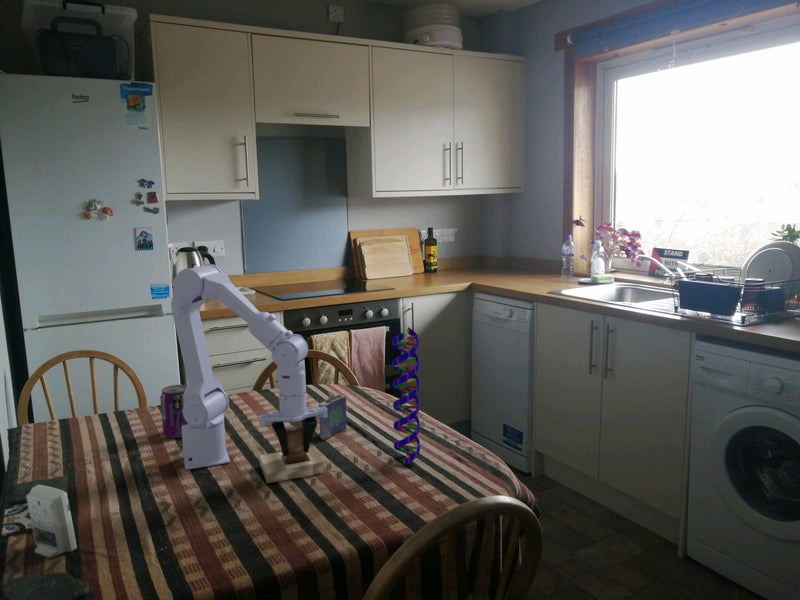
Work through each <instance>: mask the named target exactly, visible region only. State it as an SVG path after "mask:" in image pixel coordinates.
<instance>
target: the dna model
mask: <svg viewBox="0 0 800 600" xmlns="http://www.w3.org/2000/svg"><path fill="white" fill-rule="evenodd" d="M407 335H409V336H407ZM412 339H414V340H415V341H416V342H412V341H411V342H408V341H407V340H412ZM391 344H392V346H393V348H394V349H396V350H398V351H400V352H403V354H400V355H399V356H397V357H395V358H393V360H392V363H391V364H392V367H393V369H395V370H397V371H399V372H401V373H403V374H404V375H402V376H400V377H397V378H396V379H394V380H392V381H393V382H392V388H393V389H394V390H396V391H398V392H400V393H403V394H405V395H404V396H403V397H402V396H401V397H400V398H399V399H396V400H394V401H393V403H392V404H393V405H392V406H393V409H394V410H395V411H398V412H401V413H403V414H404V415H406V416H405V417H403V418H401V419H397V420H395V421H394V423H393V429H394V430H395V431H397V432H400V433H403V434H405V437H404V438H403V439H400V440H398V441H395V442H393V449H394V450H395V451H397V452H400V453H404V454H406V456H405V458H404V460H403V464H404V466H407V465H409V464H411V463H412V462H413V461H414V460H416V458H417V457H418V456H419V454H420V452H421V441H420V438H419V437H418V435H419V433H420V430H421V422H420V418H419V417H418V414H419V412H420V409H421V401H420V399H419V397H418V396H417V395H418V393H419V391H420V387H421V384H420V383H421V382H420V379H419V377H418V376H417V373H418V371H419V369H420V365H421V364H420V358H419V356H418V355H417V351H418V350H419V348H420V337H419V335H418V334H417V333H416V331H414V330H413V329H412V328H410V327H407V329H406V330H405V331H404V332H401V333H399V334H397V335H395V336H394V337H393V339H392V341H391ZM407 346H412V348H411V349H410V348H409V347H407ZM413 346H414V347H413ZM412 361H415V362H416V364H409V363H408V362H412ZM404 363H405V364H404ZM407 363H408V364H407ZM410 368H413V369H412V370H411V369H410ZM413 382H416V385H415V384H414V385H413V384H411V385H410V383H413ZM408 383H409V384H408ZM411 389H414V390H411ZM414 402H415V403H416V404H417V405H407V404H410V403H414ZM412 410H414V411H412ZM412 423H416V424H417V426H410V425H409V426H407V425H408V424H412ZM413 430H415V431H413ZM412 443H416V444H417V445H415V446H414V445H409V444H412ZM410 450H415V451H414V452H413V453H412V451H410Z"/></svg>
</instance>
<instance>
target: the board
mask: <svg viewBox="0 0 800 600" xmlns="http://www.w3.org/2000/svg"><path fill="white" fill-rule="evenodd" d="M304 452H305V451H304ZM259 465H260V469H261V471H262V474H263V476H264V478H265V482H266V483H267V484H269V483H276V482H281V481H287V480H294V479H298V478H305V477H309V476H316V475H321V474H324V461H323V460H322V458H321V456H320V455H319V454H318V452H317V450H316V449H315V448H314V446H309V452H308V453H305V461H304V462H301V463H295V464H288V463H287V460H286V456H283V454H282V451H279V452H278V451H277V452H273V453H266V454H261V455H259Z"/></svg>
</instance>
